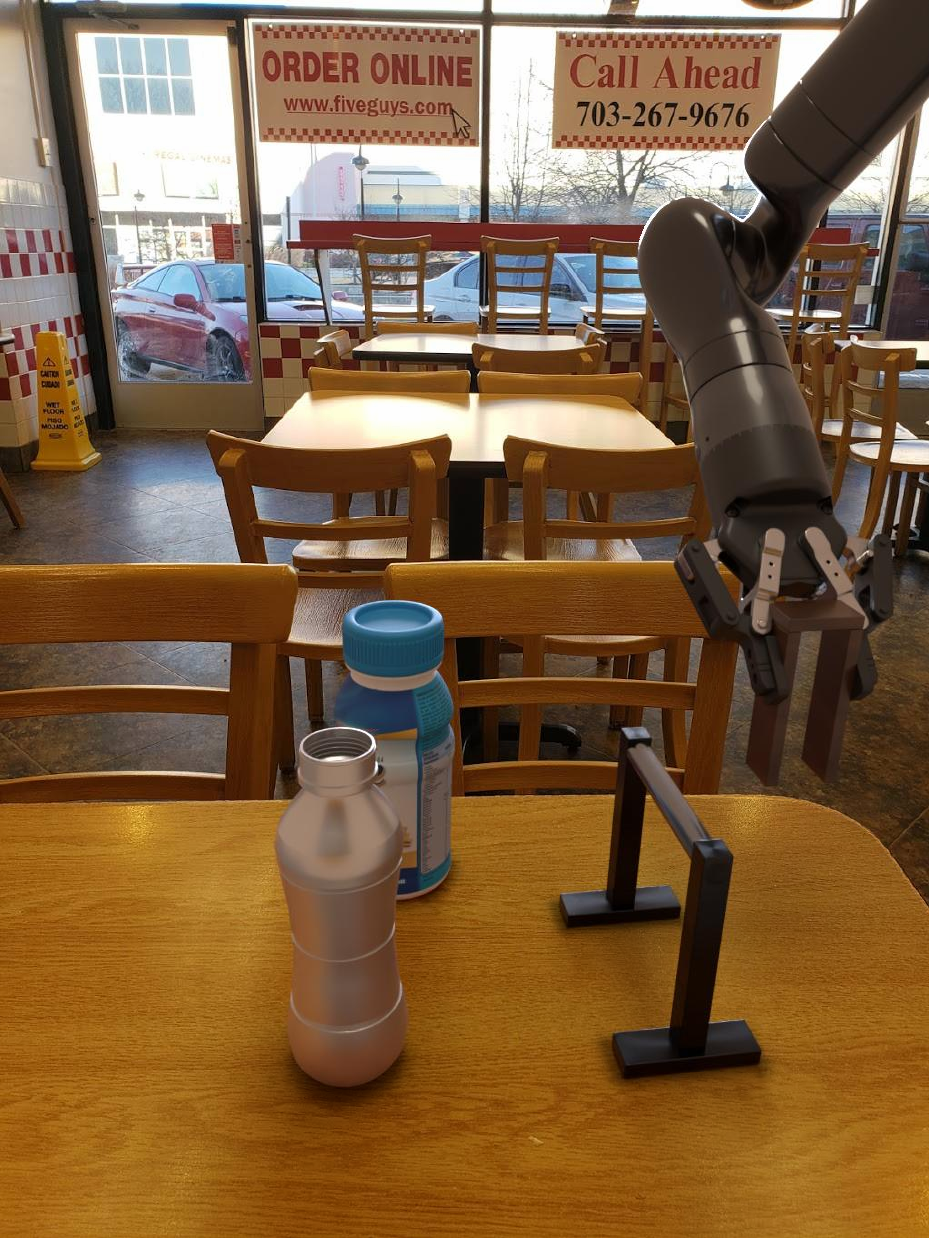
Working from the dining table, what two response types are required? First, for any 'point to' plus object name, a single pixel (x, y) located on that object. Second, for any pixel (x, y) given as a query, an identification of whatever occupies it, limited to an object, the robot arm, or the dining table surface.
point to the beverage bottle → (404, 726)
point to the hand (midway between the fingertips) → (819, 697)
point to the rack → (704, 915)
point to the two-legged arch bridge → (827, 693)
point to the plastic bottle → (342, 911)
